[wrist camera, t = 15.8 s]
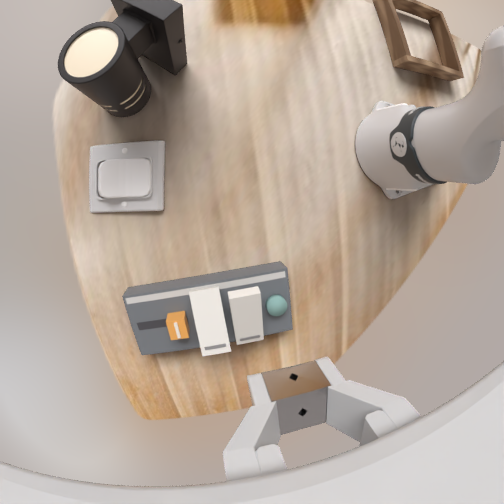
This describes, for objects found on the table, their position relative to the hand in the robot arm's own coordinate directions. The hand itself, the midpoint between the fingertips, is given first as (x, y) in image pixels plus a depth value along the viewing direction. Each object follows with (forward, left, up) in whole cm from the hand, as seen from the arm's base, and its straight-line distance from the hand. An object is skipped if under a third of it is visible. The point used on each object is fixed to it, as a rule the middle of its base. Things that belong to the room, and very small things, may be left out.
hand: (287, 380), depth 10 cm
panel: (+4, +13, -37) cm, 39 cm away
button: (-7, +13, -33) cm, 36 cm away
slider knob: (+9, +13, -33) cm, 37 cm away
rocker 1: (+4, +13, -32) cm, 34 cm away
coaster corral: (-47, -37, -37) cm, 70 cm away
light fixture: (+10, -26, -37) cm, 47 cm away
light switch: (+14, -10, -38) cm, 42 cm away
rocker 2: (-2, +13, -32) cm, 34 cm away
